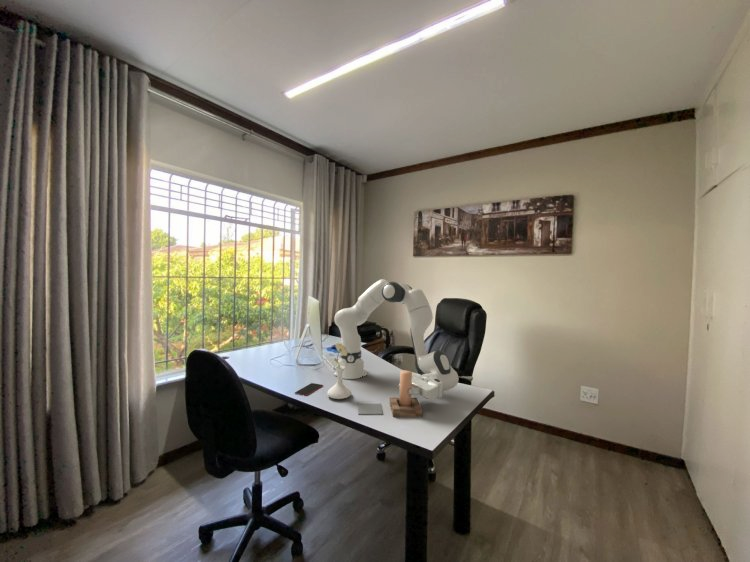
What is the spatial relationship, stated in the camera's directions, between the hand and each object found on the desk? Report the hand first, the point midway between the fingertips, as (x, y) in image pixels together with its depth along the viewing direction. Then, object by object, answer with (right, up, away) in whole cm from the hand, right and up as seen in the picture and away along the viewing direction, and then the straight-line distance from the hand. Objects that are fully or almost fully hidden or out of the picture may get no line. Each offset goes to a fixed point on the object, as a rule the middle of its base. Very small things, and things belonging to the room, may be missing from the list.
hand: (403, 388), depth 128 cm
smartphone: (-45, -9, +21) cm, 50 cm away
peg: (+1, -9, +1) cm, 9 cm away
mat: (-14, -9, 0) cm, 17 cm away
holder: (+1, -9, 0) cm, 9 cm away
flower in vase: (-29, -9, +14) cm, 34 cm away
